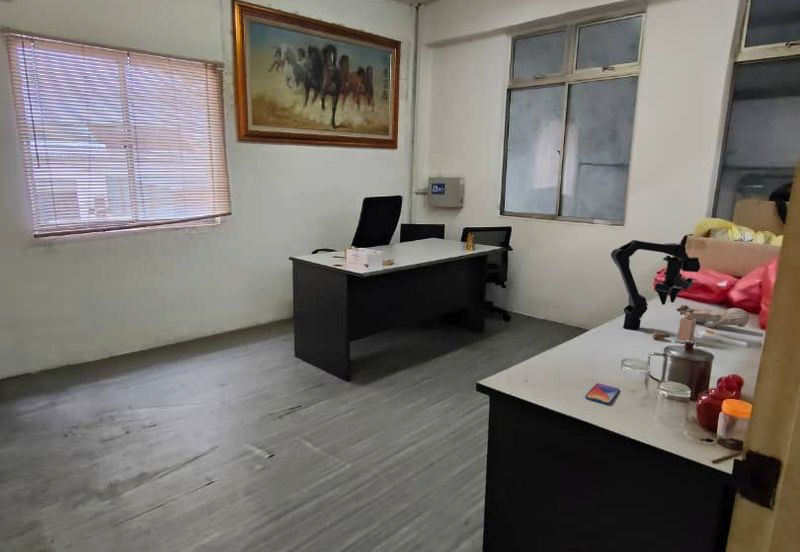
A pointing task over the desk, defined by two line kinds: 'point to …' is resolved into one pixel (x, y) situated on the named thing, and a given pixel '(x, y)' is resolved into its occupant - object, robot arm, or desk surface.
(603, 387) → the smartphone
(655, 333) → the walnut block
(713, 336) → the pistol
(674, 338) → the mat
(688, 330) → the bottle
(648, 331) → the desk surface
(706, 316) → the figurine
